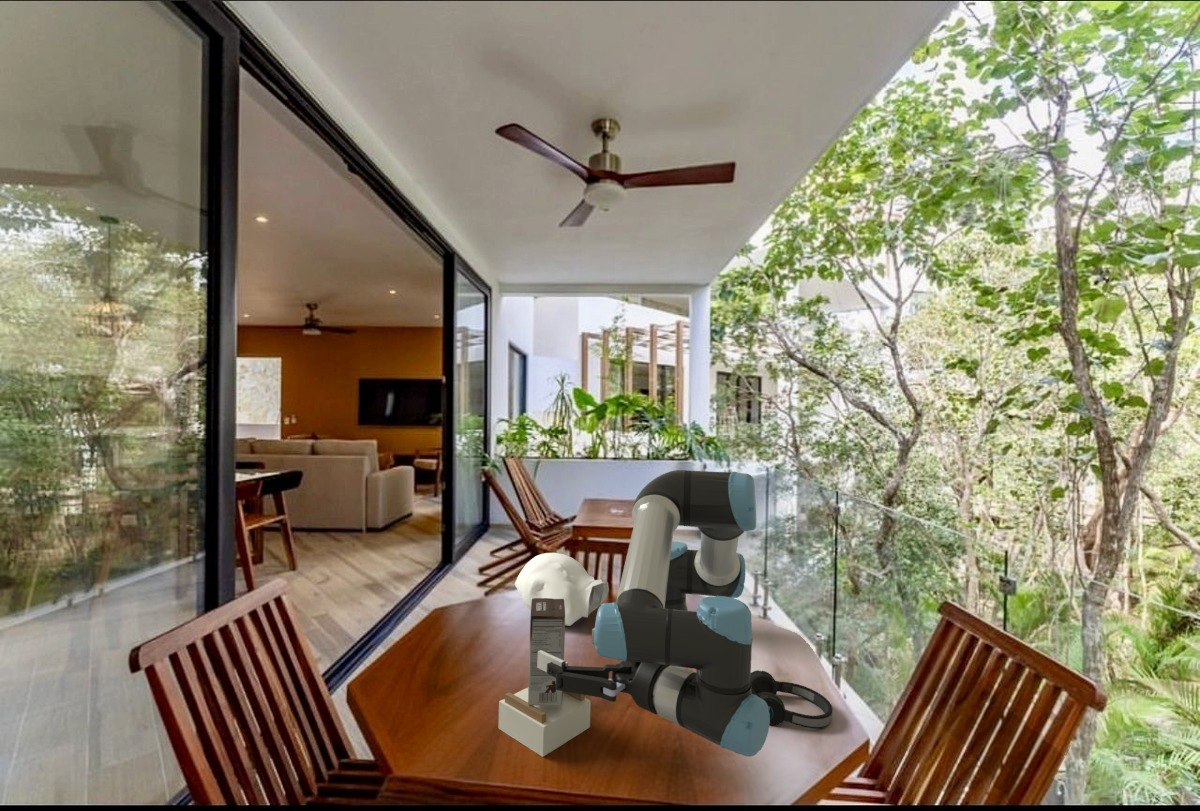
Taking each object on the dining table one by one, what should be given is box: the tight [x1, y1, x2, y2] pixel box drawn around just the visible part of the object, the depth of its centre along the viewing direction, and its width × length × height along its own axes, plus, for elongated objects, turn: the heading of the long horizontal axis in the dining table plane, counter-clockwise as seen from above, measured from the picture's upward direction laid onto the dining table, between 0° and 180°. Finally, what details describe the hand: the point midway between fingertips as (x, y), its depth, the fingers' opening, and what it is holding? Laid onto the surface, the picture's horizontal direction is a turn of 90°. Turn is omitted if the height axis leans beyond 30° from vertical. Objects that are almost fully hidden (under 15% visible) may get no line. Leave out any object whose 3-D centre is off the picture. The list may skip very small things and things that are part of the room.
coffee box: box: [527, 598, 566, 705], centre depth 100 cm, size 9×6×16 cm
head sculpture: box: [514, 552, 610, 627], centre depth 154 cm, size 18×20×25 cm
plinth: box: [497, 687, 591, 758], centre depth 100 cm, size 12×12×6 cm
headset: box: [751, 670, 833, 730], centre depth 109 cm, size 13×9×19 cm
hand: (567, 646), depth 96 cm, fingers open, 13 cm apart
